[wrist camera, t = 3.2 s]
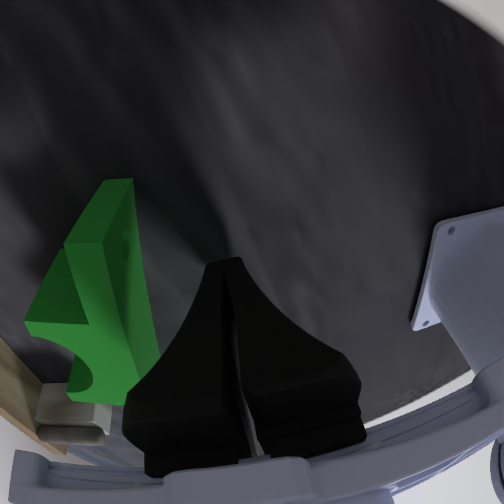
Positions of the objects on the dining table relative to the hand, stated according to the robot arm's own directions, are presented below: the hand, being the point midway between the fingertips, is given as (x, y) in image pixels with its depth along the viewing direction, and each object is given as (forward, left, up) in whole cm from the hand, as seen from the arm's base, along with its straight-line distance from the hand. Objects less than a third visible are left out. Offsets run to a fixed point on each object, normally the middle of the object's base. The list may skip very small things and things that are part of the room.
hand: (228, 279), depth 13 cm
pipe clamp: (+5, 0, -1) cm, 6 cm away
